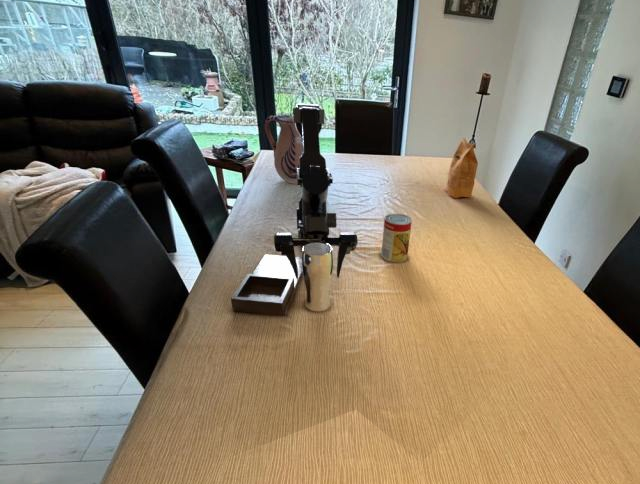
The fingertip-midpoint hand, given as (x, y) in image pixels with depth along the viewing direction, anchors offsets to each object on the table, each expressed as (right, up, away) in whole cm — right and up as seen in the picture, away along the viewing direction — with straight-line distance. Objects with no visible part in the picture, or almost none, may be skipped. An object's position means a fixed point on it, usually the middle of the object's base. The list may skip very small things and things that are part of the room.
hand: (317, 277), depth 95 cm
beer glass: (-1, -6, +5) cm, 8 cm away
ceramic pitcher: (-24, +46, +81) cm, 96 cm away
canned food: (+18, +8, +30) cm, 36 cm away
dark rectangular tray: (-13, -1, +11) cm, 17 cm away
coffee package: (+47, +41, +84) cm, 105 cm away
